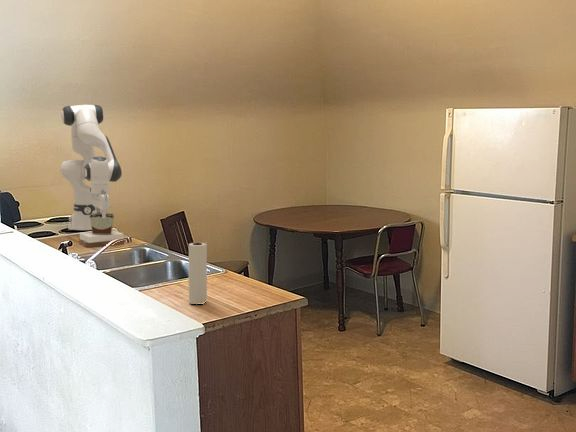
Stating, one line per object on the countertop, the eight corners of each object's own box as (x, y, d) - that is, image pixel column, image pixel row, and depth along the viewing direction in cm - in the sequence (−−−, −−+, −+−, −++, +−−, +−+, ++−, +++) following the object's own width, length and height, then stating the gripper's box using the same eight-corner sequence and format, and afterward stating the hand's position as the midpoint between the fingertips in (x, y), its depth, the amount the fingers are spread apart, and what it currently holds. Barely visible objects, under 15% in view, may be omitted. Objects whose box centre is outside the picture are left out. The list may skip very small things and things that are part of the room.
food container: (116, 233, 339) (116, 213, 338) (114, 234, 333) (114, 214, 332) (91, 232, 338) (91, 213, 337) (89, 233, 332) (89, 213, 331)
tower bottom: (79, 244, 338) (79, 238, 337) (116, 241, 348) (116, 235, 347) (86, 249, 327) (86, 243, 326) (124, 245, 337) (124, 239, 336)
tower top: (79, 239, 336) (79, 233, 336) (113, 235, 347) (113, 230, 346) (88, 242, 327) (88, 236, 326) (123, 239, 337) (123, 233, 337)
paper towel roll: (191, 306, 231) (191, 245, 228) (186, 301, 236) (186, 242, 233) (211, 304, 234) (211, 244, 230) (206, 300, 239) (206, 241, 236)
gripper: (112, 191, 326) (113, 219, 328) (101, 187, 343) (101, 214, 345) (99, 192, 322) (100, 220, 324) (88, 187, 340) (89, 214, 342)
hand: (101, 217), depth 335 cm, fingers open, 8 cm apart
